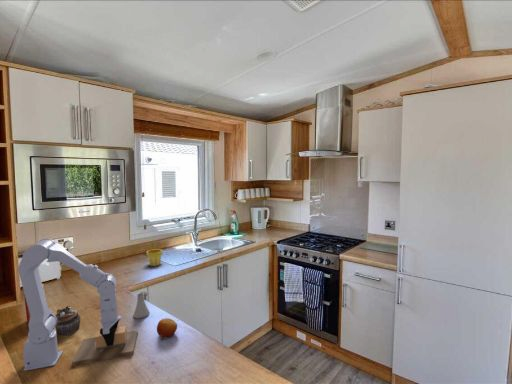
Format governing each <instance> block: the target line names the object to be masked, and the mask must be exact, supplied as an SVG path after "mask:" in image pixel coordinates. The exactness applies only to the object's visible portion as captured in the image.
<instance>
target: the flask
mask: <svg viewBox="0 0 512 384" xmlns="http://www.w3.org/2000/svg"><path fill="white" fill-rule="evenodd" d="M136 297H137V299H136V300H137V302H136V306H135V309H134V313H133V318H134V319H143V318H146V317H149V315H150V310H149V308H148V306H147V304H146V301H145V299H144V298H145V293H144V292H139V293H137V294H136Z"/></svg>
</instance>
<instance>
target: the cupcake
mask: <svg viewBox="0 0 512 384" xmlns="http://www.w3.org/2000/svg"><path fill="white" fill-rule="evenodd" d="M55 316H56V318H57V325H56V326H55V327H54V328H55V331H56V334H57V335H58V336H62V337H63V336H68V335H69V336H70V335H72V334H75V333H76V332H77V331H79V329H80V325H81V318H82V317H81V314H80V313H79V311H78V310H76V309H73V308H72V307H71V305H67V306H65V308H62V309H57V310H56V315H55Z"/></svg>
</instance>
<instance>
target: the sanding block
mask: <svg viewBox="0 0 512 384" xmlns="http://www.w3.org/2000/svg"><path fill="white" fill-rule="evenodd" d="M127 332H128V331H127V326H126V325H124V326H117V329H116V331H115V335H114V343H113V345H112V346H107V345H106V342H105V340H104V338H103V336H102V335H101V334H100V329H99V330H97V332H96V334H95V336H94V337H95V341H96V350H98V349H104V348H109V347H115V346H121V345H125V344H126V340H127Z"/></svg>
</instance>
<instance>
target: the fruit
mask: <svg viewBox="0 0 512 384" xmlns="http://www.w3.org/2000/svg"><path fill="white" fill-rule="evenodd" d="M177 329H178V323H176V321H175V320H174V319H172V318H167V317H166V318H162V319H160V320H159V321H158V323H157V325H156V331H157V334H158V336H159V337H160V338H161V342H163V340H164V339H168V338H169V339H170V338H171V337H173V336H174V335H175V333H176V331H177Z"/></svg>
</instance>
